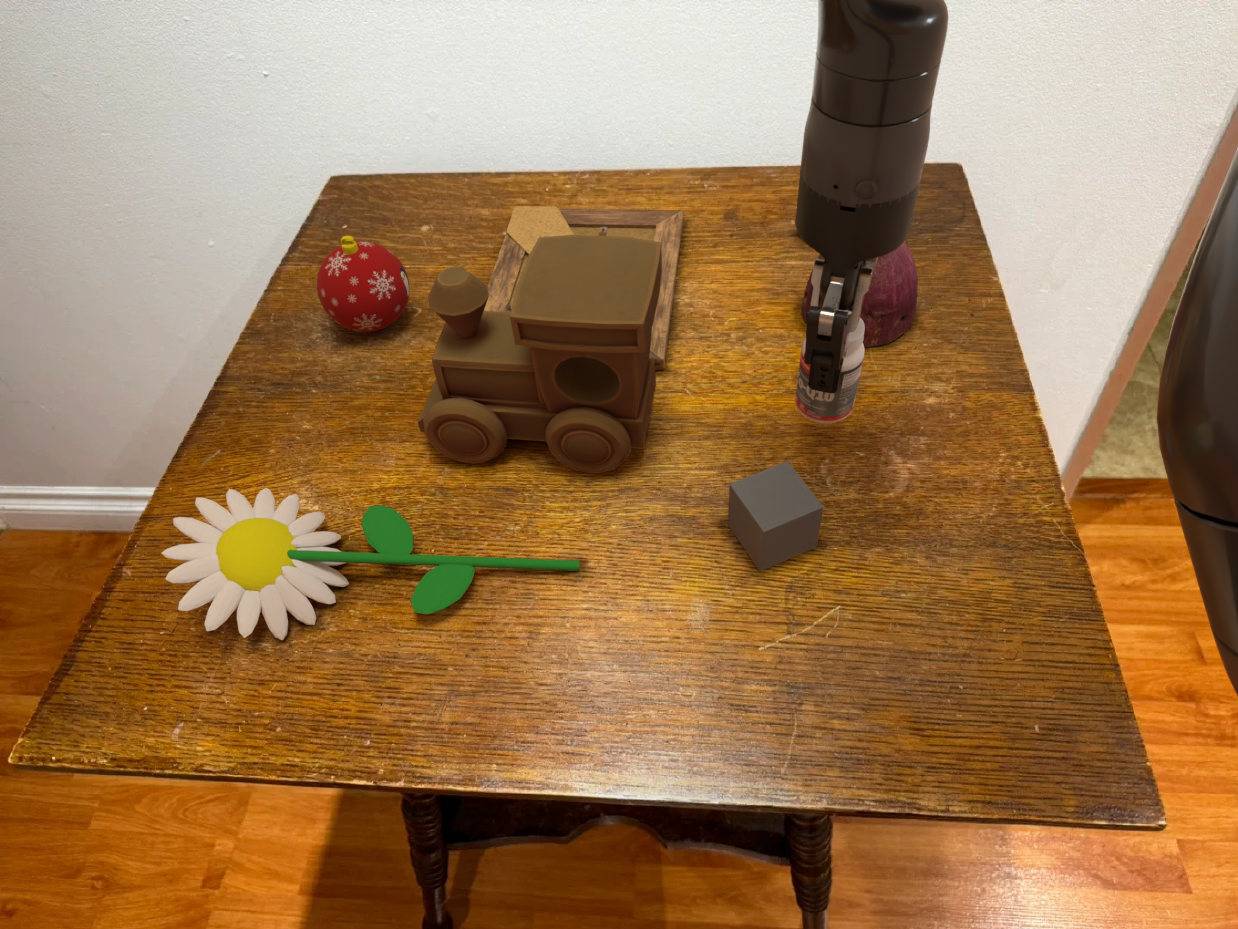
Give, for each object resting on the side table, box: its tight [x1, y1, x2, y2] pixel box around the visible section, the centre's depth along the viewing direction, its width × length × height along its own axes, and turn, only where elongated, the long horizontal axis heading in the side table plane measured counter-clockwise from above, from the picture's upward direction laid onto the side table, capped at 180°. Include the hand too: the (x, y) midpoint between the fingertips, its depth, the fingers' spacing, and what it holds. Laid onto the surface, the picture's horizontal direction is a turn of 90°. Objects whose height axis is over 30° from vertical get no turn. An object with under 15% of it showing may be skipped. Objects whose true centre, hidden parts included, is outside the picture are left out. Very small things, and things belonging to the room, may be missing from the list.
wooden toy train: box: [417, 235, 662, 474], centre depth 71 cm, size 20×11×17 cm, turn 81°
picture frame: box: [484, 205, 684, 371], centre depth 90 cm, size 19×2×24 cm
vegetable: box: [800, 240, 919, 348], centre depth 80 cm, size 10×10×15 cm
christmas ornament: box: [316, 235, 410, 333], centre depth 85 cm, size 9×9×10 cm
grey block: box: [727, 460, 825, 572], centre depth 67 cm, size 5×5×5 cm
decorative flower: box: [160, 487, 580, 641], centre depth 67 cm, size 13×5×30 cm
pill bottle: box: [794, 310, 866, 424], centre depth 69 cm, size 5×5×8 cm
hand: (830, 364), depth 69 cm, fingers closed on pill bottle, 4 cm apart
